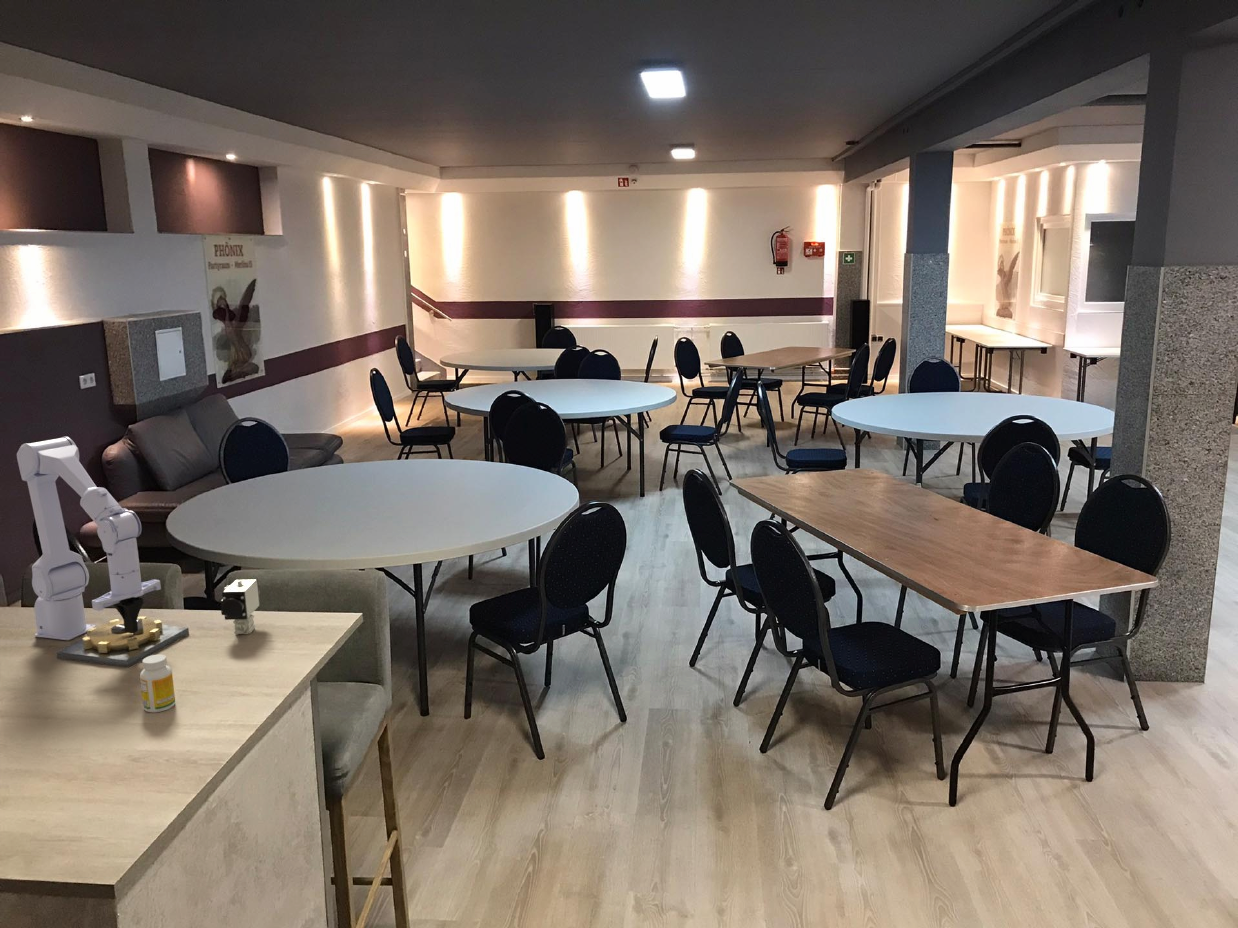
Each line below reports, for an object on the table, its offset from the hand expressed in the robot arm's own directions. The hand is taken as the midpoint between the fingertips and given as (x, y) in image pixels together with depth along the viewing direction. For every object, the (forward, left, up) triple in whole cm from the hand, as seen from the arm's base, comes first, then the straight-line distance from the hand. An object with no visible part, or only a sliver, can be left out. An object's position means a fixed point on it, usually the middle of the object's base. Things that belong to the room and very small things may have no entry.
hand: (131, 631), depth 203 cm
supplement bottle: (+23, -20, -5) cm, 31 cm away
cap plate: (-5, +2, -5) cm, 7 cm away
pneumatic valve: (+15, +15, -5) cm, 22 cm away
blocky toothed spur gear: (-5, +2, -3) cm, 6 cm away
